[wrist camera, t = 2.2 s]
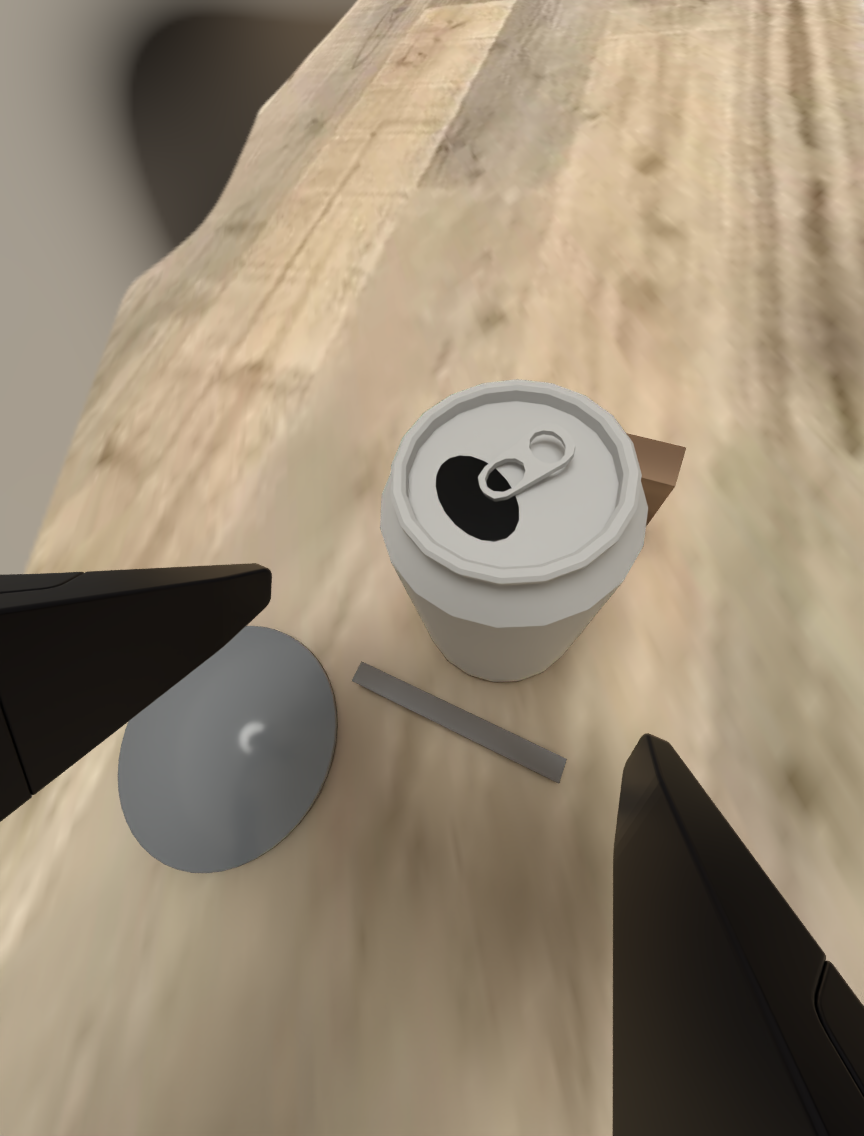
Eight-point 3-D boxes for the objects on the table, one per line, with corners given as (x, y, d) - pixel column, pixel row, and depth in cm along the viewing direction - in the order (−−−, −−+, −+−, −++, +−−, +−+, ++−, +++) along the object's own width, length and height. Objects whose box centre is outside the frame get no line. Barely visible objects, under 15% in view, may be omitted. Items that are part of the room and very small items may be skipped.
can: (403, 586, 22) (321, 431, 11) (521, 523, 23) (551, 318, 12) (472, 714, 19) (450, 672, 8) (606, 637, 20) (752, 502, 9)
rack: (554, 781, 17) (584, 797, 12) (358, 684, 20) (311, 661, 15) (636, 522, 22) (686, 447, 16) (466, 471, 25) (460, 393, 19)
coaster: (333, 864, 17) (330, 867, 17) (98, 876, 18) (90, 879, 18) (340, 618, 22) (337, 615, 21) (151, 638, 23) (146, 636, 22)
